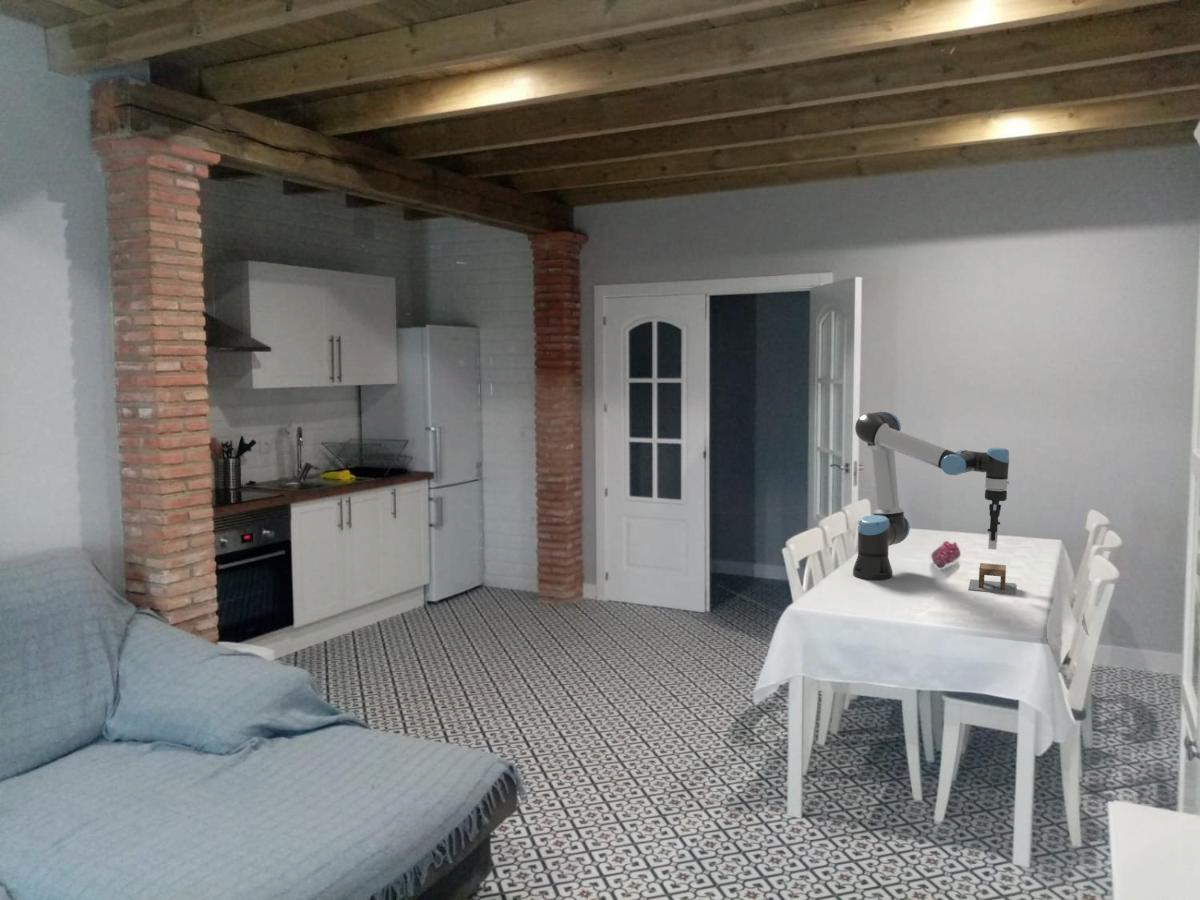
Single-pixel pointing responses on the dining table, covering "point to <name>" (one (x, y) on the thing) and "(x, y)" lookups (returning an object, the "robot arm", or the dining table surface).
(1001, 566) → the wooden stool
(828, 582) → the dining table surface
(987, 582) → the mat
